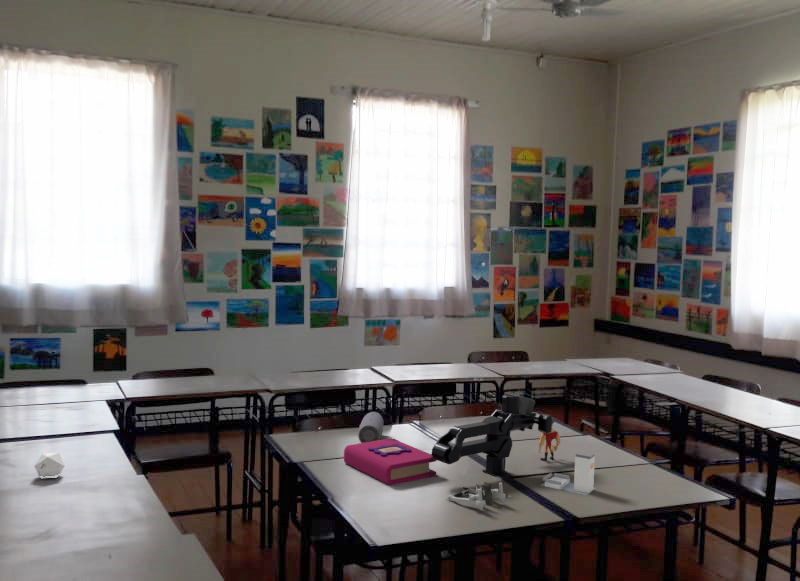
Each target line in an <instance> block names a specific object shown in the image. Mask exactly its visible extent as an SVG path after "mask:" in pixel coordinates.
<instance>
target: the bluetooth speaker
mask: <svg viewBox="0 0 800 581" xmlns="http://www.w3.org/2000/svg"><path fill="white" fill-rule="evenodd" d="M384 424H385V423H384V419H383V416H382V415H381V414H380V413H379V412H376V411H370V412H367V413H366V414H365V415H364V416H363V418H362V420H361V423H360V424H359V428H358V432H357V436H358V440H359V442H360V443H366V442H372V441H378V440H381V437H382V435H383V432H384Z"/></svg>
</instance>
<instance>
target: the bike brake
mask: <svg viewBox="0 0 800 581" xmlns="http://www.w3.org/2000/svg"><path fill="white" fill-rule="evenodd" d="M498 487H499V488H494V489H492V483H490V482H487V481H486V482H485V481H484V482H483V484H477V483H476V484H475V489H474V488H470V489H469V488H468V487H465V486H463V487H462V488H463V489H464V490H463V491H461V492H457V493H456V494H453V495H451V494H449V495H448V496H447V498H446V500H448V501H450V502H452V501H453V502H457V503H465V504H471V505H476V506H477V507H478V508H479V510H484V508H485V505H489V506H493V505H494V504H493V503H494V502H493V499H498V500H499V502H500V503H504V502H505V500H506V494H505V493H504V490H503V488H504V487H503V482H499V483H498ZM467 495H468V498H467V497H462V496H467Z"/></svg>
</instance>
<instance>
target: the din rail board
mask: <svg viewBox="0 0 800 581" xmlns="http://www.w3.org/2000/svg"><path fill="white" fill-rule="evenodd" d="M570 479H571V478H570V475H566V474H561V473H556V472H555V473H552V472H550V473H548V474H546V475H545V476H543V477H542V481H543V483H541V484H540V486H541V487H546V488H550V489H555V490H559V491H560V490H561V491H564V492H569V493H574V494H579V495H583V496H585V497H586V496H588V495H589V494H591V493H592V492H594V490H596V489H597V487H593V490H592V491H591V492H590V493H584V492H580V491H575V490H574V482H571V480H570Z"/></svg>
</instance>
